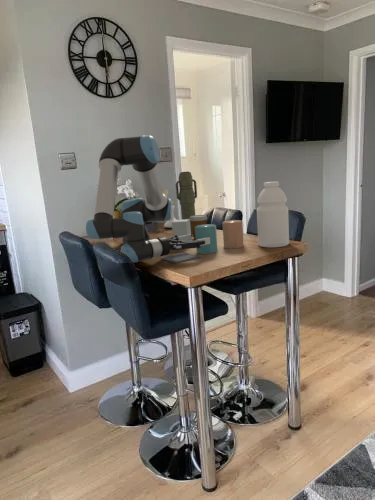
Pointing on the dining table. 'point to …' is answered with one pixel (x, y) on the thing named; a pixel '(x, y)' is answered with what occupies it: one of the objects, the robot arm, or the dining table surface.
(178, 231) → the supplement box
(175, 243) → the robot arm
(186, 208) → the thermos
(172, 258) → the coaster
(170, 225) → the flower in vase
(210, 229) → the teal cup
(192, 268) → the dining table surface
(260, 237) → the bottle
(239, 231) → the terracotta cup
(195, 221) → the disposable coffee cup
